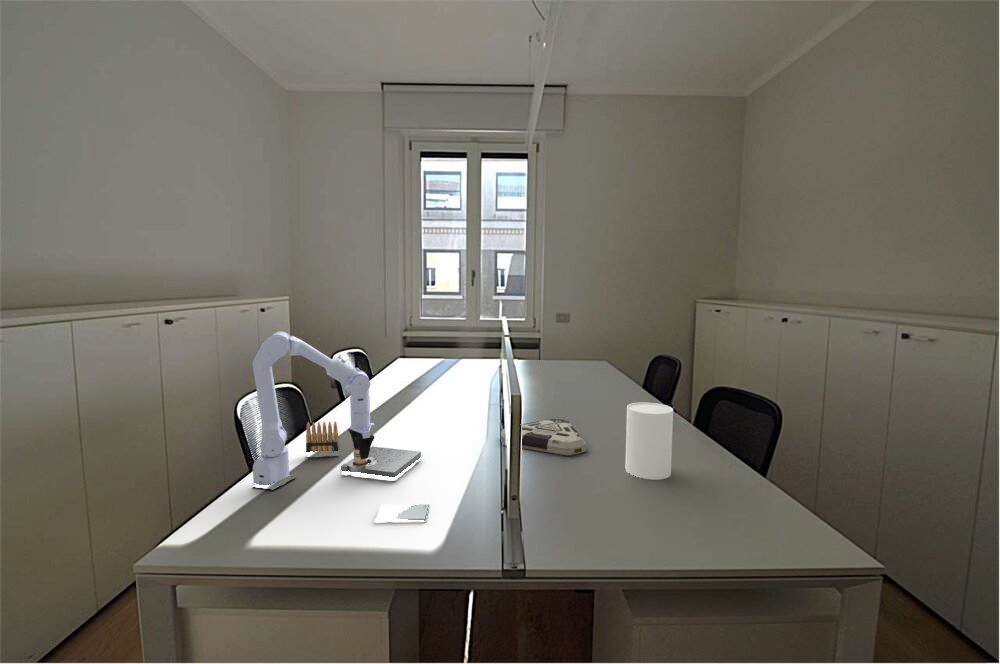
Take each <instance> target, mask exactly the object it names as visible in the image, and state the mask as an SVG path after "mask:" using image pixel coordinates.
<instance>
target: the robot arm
mask: <svg viewBox="0 0 1000 664" xmlns="http://www.w3.org/2000/svg"><path fill="white" fill-rule="evenodd" d="M288 353H289V357H291V356H292V357H293V356H301V357H303V358H306V359H307V360H309V361H311V362H312V363H315V364H316V365H319V366H320V367H322V368H324V369H325V373H326V374H327V376H329V377H331V378H332V379H334V380H336V381H338V382H339V383H341V384H343V385H345V386H349V388H350V400H349V401H350V426H349V427H350V428H348V429H347V430H348V433H349V435H350V436H351V440H352V443H353V450H355V449H357V448H359V454H360V457H361V459H366V458H368V456H369V452H370V448H371V447H372V444H373V442H374V440H375V436H374V434H372V435H371V432H370V431H371V429H372V427H373V428H374V427H375V423H374V422H371V400H370V399H371V398H370V397H371V396H370V390H369V389H370V387H371V381H370V378H369V376H368V375H367V373H366V372H365V371H364V370H360V368H359V367H354V366H352V365H350V364H349V363H347V362H346V361H347V360H346V359H344V358H343V357H342V358H339V357H336V358H330V357H329V356H327V355H326V354H324V353H322V352H321V351H320V350H318V349H316V348H315V347H313V346H312V345H310V344H309V343H306V342H305V341H303V340H302V339H301V338H298V337H296V336H294V335H290V334H289V333H287V332H285V331H282V330H281V331H276V332H274V333H272V334H271V335H270V336H269V337H268V338H267V339H266V340H265V341H263V343H262V344H261V346H260V348H259V350H258V352H257V353H256V355H255V357H254V359H253V360H252V371H253V376H254V383H255V388H256V394H257V395H256V396H257V402H258V409H259V413H260V419H261V437H262V438H261V441H260V443H259V449H260V451H261V452H260V456H259V457H258V459H257V460H255V462H253V464H252V478H253V481H252V482H253V484H254V483H256V484H259V485H269V484H270V485H272V484H273V483H276V482H277V481H279V480H282V479H284V478H286V477H288V476H290V465H289V464H290V463H289V448H288V447H287V446H286V445H285V444H286V441H287V440H288V439H287V438H288V432H287V431H286V430H285V428H284V426H283V424H282V420H281V417H280V412H279V411H280V410H279V404H278V398H277V393H276V386H275V379H274V374H273V373H274V372H273V365H274V364H275V363H276V362H277V361H278V360H279V359H280V358H282V357H284V356H285V355H287V354H288Z"/></svg>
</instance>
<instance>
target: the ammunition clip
mask: <svg viewBox="0 0 1000 664" xmlns="http://www.w3.org/2000/svg"><path fill="white" fill-rule="evenodd" d="M327 425H328V426H327ZM327 425H326V422H325V421H323V423H322V426H321V423H320V421H318V422H317V425H316V423H315V422H314V421H313V422H312V425H310V422H309V421H307V423H306V427H305V428H306V431H305V432H306V434H305V441H306V443H305V453H306V452H310V451H313V452H315V451H319V452H320V451H333V452H334V451H338V450H340V442H339V432H338V423H337V422H336V421H334V422H333V427H332V422H331V421H329V422H328V424H327ZM316 427H317V429H316Z"/></svg>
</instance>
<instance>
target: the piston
mask: <svg viewBox="0 0 1000 664" xmlns="http://www.w3.org/2000/svg"><path fill="white" fill-rule="evenodd" d="M352 452H353V459H354V465H357V466H362V465H367V464H368V458H366V459H361V457H360V454H359V448H357V449H353V451H352Z"/></svg>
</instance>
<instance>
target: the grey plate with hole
mask: <svg viewBox="0 0 1000 664" xmlns="http://www.w3.org/2000/svg"><path fill="white" fill-rule="evenodd" d="M420 457H421V458H422V452H421V451H418V450H407V449H399V448H390V447H381V446H371V447H370V452H369V456H368V463H369V464H367V465H362V466H357V465H354V458H351V459H350V460H348V461H347V462H346V463H343V464H342V465H340V471H341V470H342V471H348V470H349V471H350V472H361V473H367V474H375V475H382V476H389V477H395V476H397V475H398V474H399V473H401V472H402V471H403V470H404V469H406V468H407V467H408V466H410V465H411V464H412V463H414V462H415V461H416V460H418V459H419V458H420Z"/></svg>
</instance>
